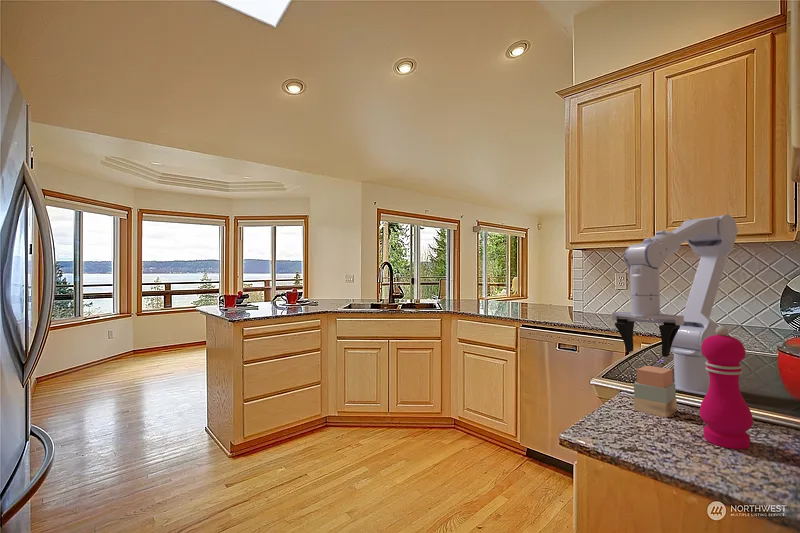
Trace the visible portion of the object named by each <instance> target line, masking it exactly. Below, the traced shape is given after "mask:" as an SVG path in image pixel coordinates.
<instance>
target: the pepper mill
mask: <svg viewBox="0 0 800 533" xmlns="http://www.w3.org/2000/svg"><path fill="white" fill-rule="evenodd" d="M716 334H717V335H713V336H709V337H708V338H706V339H705V340H704V341H703V343H702V346H701V351H702V354H703V355H704V356H705V357H706V359H707V360H708V361H707V362H705V364H706V368H705V369H706V370H707V371H709V376H710V385H709V389H708V392H707V394H706V395H704V397H703V399H702V401H701V403H700V407H699V417H700V419H701V420H702V421H703V422H704V423H705V426H704V427H703V438H704V440H705V441H707V442H709V443H710V444H712V445H715V446H718V447H722V448H725V449H726V448H727V449H734V450H745V449H746V450H747V449H749V448H750V447H751V436H750V434H749V433H748V432H747V431H748V430H750V429H751V428H752V427H753V425H754V418H753V414H752V411H751V409H750V407H749V405H748V404H747V402H746V400H745V398H744V396H743V395H742V392H741V389H740V381H739V380H740V375H742V374H743V369H742V368H743V365H742V364H740V363H741V362H742V361H743V360H744V359H745V357H746V348H745V346H744V345H743V343H742V342H741V340H739V339H738V338H737V337H733V336H730V335H728V334H729V328H728V327H725V326H723V325H720V326H719V325H718V327H717V328H716Z"/></svg>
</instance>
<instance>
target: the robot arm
mask: <svg viewBox="0 0 800 533" xmlns="http://www.w3.org/2000/svg"><path fill="white" fill-rule="evenodd" d="M738 231H739V230H738V226H737V222H736V220H735V218H734V217H733V216H732V215H731V214H722V215H718V216H710V217H702V218H701V217H700V218H689V219H687V220H685V221H683V222H682V224H681V225H679V226H678V227H677V228H675V229H674V230H672V231H669V230H658V231H656V232H655V235H653V236H652V237H649V238H648V237H646V238H644V239H643V241H642V242H641V243H635V244H631V245H629V246H628V247H627V248H626V250H625V251H624V255H623V262H624V264H625V266H626V268H627V275H629V278H630V280H629V281H630V303H631V304H630V305H631V307H630V308H631V312H629V311H612V312H611V318H612V319H611V320H612V321H616V322H614V326H615V328H616V330H617V331H618V332H619V334H620V336H621V339H622V340H623V344H624V346H625V348H624V349H625V352H627V353H632V352H634V329H635V328H634V327H635V322H636V323H651V324H660V325H659V326H658V328H659V332H660V338H661V354H662V355H661V356H662V358H663V357H664V358H667V357H670V355H671V352H672V353H673V366H674V367H673V369H674V370H673V371H674V373H673V374H674V383H675V388H676V391H680V392H685V393H689V394H690V393H691V394H695V395H701V396H705V395H706V394H707V392H708V389H709V385H710V376H709V371H707V370H706V369H705V368H706V364H705V362H707V361H708V360H707V359H706V357H705V356H704V355H703V354H702V351H701V346H702V343H703V341H704V340H705V339H706V338H708V337H709V336H713V335H717V334H716V328H717V327H719V325H718V324H717V323H716V322H715V321H714V320H712V319H711V318H710V317H711V314H712V310H713V307H714V304H715V300H716V297H717V294H718V290H719V287H720V284H721V280H722V277H723V274H724V270H725V266H726V262H727V259H728V255H729V253H731V252H733V249H734V245H735V242H736V240H737V239H736V238H737V235H738ZM686 242H687V244H688V246H689V248H690V249H691V250H692V252H693V254H696V255H698V256H700V257H699V258H700V259H699V263H698V265H697V269H696V271H695V274H694V278H693V281H692V284H691V287H690V291H689V295H688V298H687V300H686V304H685V308H684V311H682V312H681V313H678V314H677V315H676V314H668V313H667V314H666V313H665V314H664V313H661V295H660V292H661V291H660V274H659V273H660V271H659V270H660V269H659V268H661V267H662V266H663V265H664V263H665V260H666V259H667V258H668V257H670V256H672V255H674V254H675V253H677V252H679V251H680V250H681V249H680V248H681V247H682V246H681V244H683V243H686Z"/></svg>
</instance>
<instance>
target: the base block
mask: <svg viewBox="0 0 800 533" xmlns="http://www.w3.org/2000/svg"><path fill="white" fill-rule="evenodd" d="M677 400H678V399H677V397H676V398H674V399H673V400H671V401H670V402H669V403H667V404H665V403H660V402H654V401H649V400H644V399H639V398H634V397H633V411H635V412H640V413H645V414H647V415H648V414H649V415H653V416H656V417H657V416H658V417H661V418H668V417H669V416H671V415H672V414H674V413H676V412H677V411H678V407H677V406H678V404H677V403H678V401H677Z"/></svg>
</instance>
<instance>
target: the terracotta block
mask: <svg viewBox="0 0 800 533" xmlns="http://www.w3.org/2000/svg"><path fill="white" fill-rule="evenodd" d="M673 377H674V376H673V369H671V368H665V367H658V366H654V365H653V366H651V365H645V366H642V367H640V368H637V369H636V382H637V383H638V384H643V385H649V386H654V387H659V388H665V387H667V386H669V385H671V384H673V383H674V381H673V380H674V378H673Z"/></svg>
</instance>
